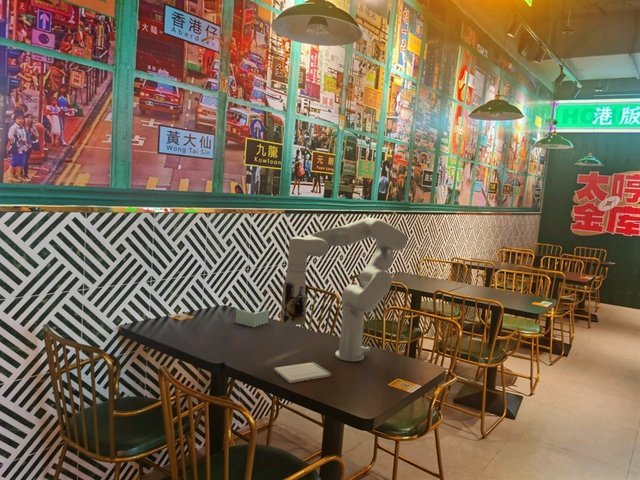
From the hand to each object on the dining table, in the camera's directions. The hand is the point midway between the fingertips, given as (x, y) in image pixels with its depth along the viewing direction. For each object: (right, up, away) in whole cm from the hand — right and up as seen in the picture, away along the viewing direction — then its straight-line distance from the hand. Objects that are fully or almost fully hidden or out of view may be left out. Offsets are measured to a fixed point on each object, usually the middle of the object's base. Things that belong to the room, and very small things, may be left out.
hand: (293, 310), depth 191 cm
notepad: (+4, -23, -8) cm, 25 cm away
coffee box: (0, -5, 0) cm, 5 cm away
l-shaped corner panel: (-25, -15, +56) cm, 63 cm away
